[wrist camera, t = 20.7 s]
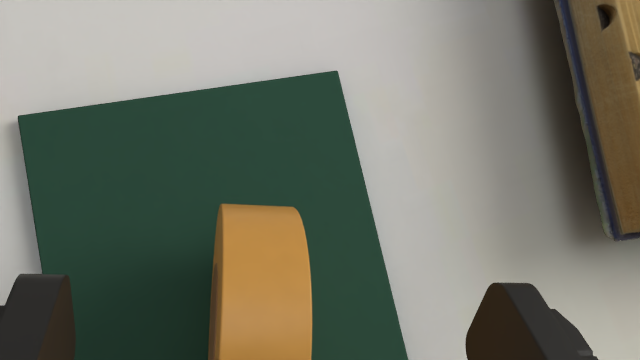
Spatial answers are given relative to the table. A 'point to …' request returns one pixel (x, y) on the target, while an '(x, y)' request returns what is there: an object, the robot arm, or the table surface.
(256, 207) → the tape roll
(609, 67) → the book
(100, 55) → the table surface
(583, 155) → the table surface
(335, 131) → the mat
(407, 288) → the table surface
